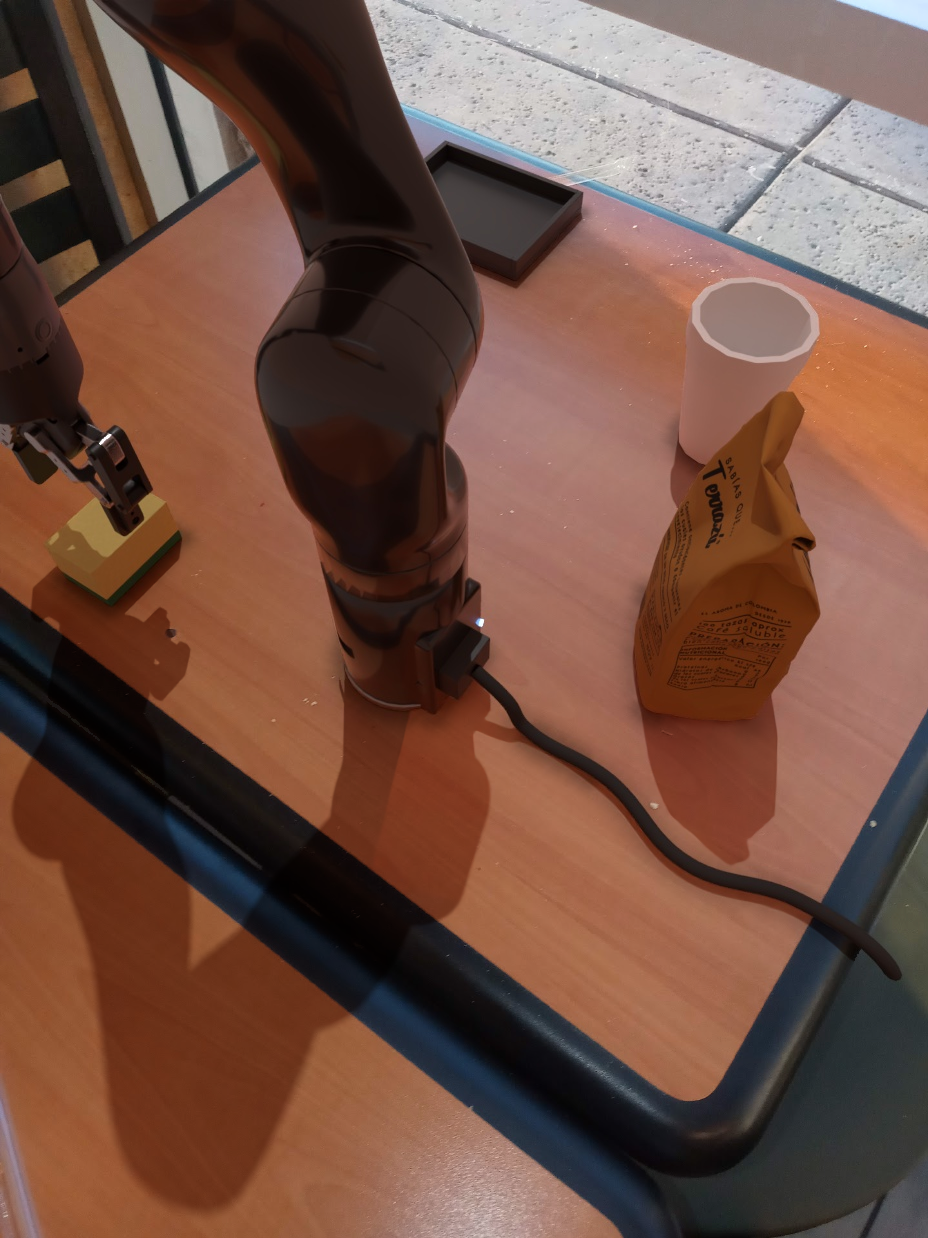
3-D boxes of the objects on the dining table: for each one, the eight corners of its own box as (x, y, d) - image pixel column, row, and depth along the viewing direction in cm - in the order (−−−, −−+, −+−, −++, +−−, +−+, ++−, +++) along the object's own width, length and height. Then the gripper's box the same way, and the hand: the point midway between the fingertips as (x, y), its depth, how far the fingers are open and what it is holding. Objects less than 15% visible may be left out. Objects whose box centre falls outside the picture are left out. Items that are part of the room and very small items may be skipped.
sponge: (137, 510, 75) (119, 474, 71) (182, 537, 73) (166, 501, 70) (65, 577, 71) (42, 543, 67) (111, 607, 70) (90, 574, 66)
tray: (581, 211, 95) (583, 191, 93) (515, 281, 90) (516, 261, 88) (445, 159, 100) (445, 139, 98) (374, 222, 95) (372, 202, 93)
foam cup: (643, 413, 80) (671, 290, 69) (738, 390, 82) (781, 266, 70) (689, 492, 75) (726, 375, 64) (789, 467, 77) (843, 347, 66)
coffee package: (767, 594, 70) (876, 381, 51) (764, 739, 64) (887, 557, 45) (638, 574, 71) (699, 358, 52) (622, 715, 65) (685, 527, 46)
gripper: (-144, 313, 53) (-20, 492, 67) (30, 413, 49) (123, 581, 63) (-41, 245, 56) (56, 428, 70) (128, 333, 52) (196, 509, 66)
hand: (88, 500), depth 66 cm, fingers open, 8 cm apart
